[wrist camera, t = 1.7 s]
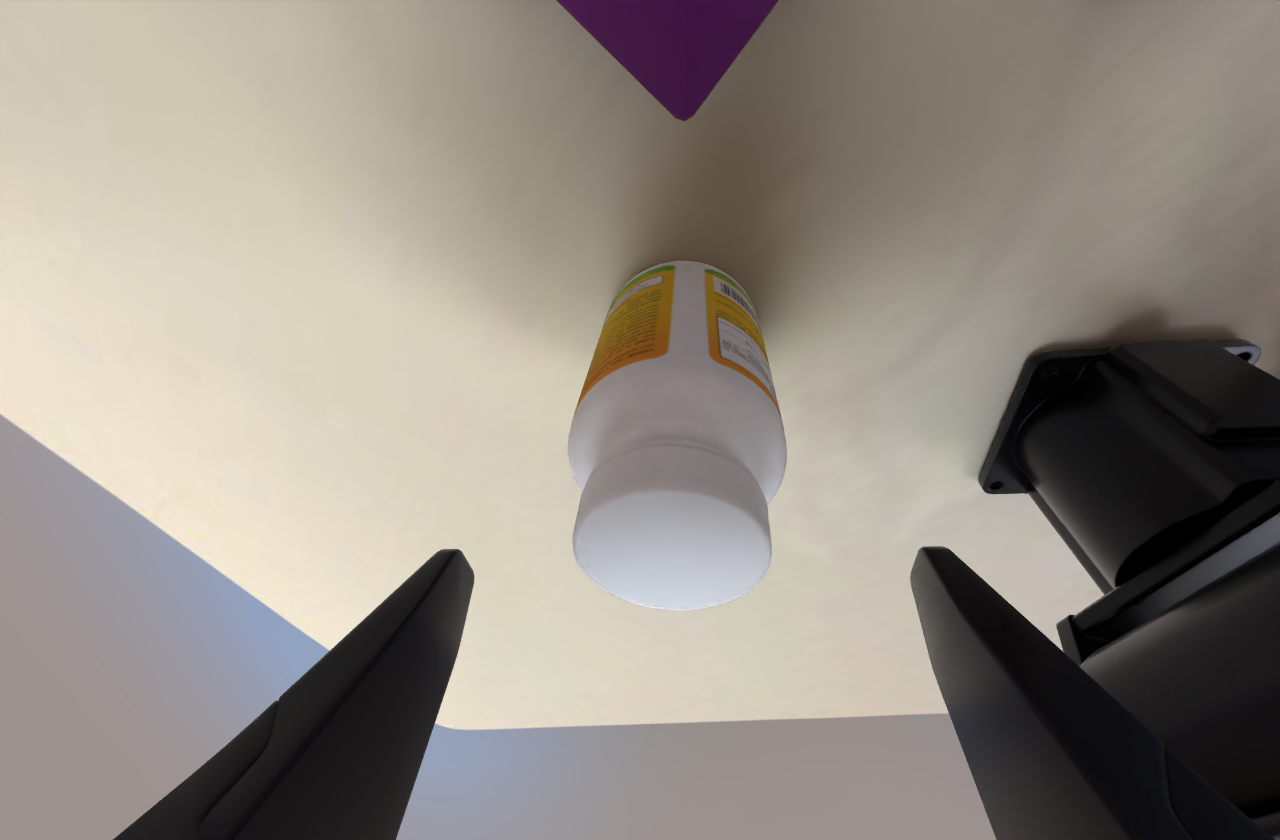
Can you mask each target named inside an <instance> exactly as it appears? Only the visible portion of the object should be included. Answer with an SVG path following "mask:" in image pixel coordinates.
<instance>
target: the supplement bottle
mask: <svg viewBox="0 0 1280 840" xmlns="http://www.w3.org/2000/svg"><path fill="white" fill-rule="evenodd" d="M568 456H569V463H570V467H571V470H572V473H573V476H574V478H575V481H576V483H577V484H578V486H579V488H580V490H581V491H582V495H581V499H580V504H579V509H578V513H577V518H576V523H575V527H574V532H573V550H574V554H575V558H576V560H577V563H578V564H579V566H580V568H581V569H582V571H583V572H584V573H585V574H586V575H587V576H588V577H589V578H590V579H591V580H592V581H593V582H594V583H595V584H596V585H598V586H599V587H600V588H602V589H603V590H605V591H606V592H608V593H610V594H612V595H614V596H617V597H619V598H621V599H623V600H626V601H629V602H631V603H634V604H638V605H642V606H646V607H651V608H657V609H666V610H693V609H702V608H707V607H713V606H716V605H720V604H724V603H726V602H729V601H731V600H734V599H736V598H738V597H740V596H742V595H744V594H745V593H747V592H748V591H750V590H751V589H752V588H754V587H755V586H756V585H757V584H758V583H759V582H760V580H761V579H762V578H763V576H764V575H765V573H766V571H767V570H768V567H769V564H770V560H771V555H772V547H771V536H770V528H769V520H768V507H767V505H768V503H769V502H770V501H771V499H772V498H773V497H774V495H775V494H776V492H777V490H778V488H779V486H780V484H781V482H782V479H783V476H784V472H785V467H786V458H787V449H786V439H785V433H784V427H783V423H782V419H781V414H780V410H779V406H778V402H777V398H776V394H775V389H774V385H773V380H772V376H771V372H770V367H769V363H768V358H767V354H766V350H765V346H764V342H763V337H762V333H761V329H760V325H759V321H758V317H757V314H756V312H755V309H754V306H753V304H752V302H751V300H750V298H749V296H748V295H747V293H746V292H745V290H744V289H743V288H742V287H741V285H740V284H739V283H738V282H737V281H735V280H734V279H733V278H732V277H731V276H729V275H728V274H727V273H725V272H723V271H721V270H720V269H718V268H715V267H713V266H711V265H708V264H704V263H700V262H695V261H672V262H666V263H662V264H658V265H656V266H653V267H650V268H648V269H646V270H644V271H642V272H640V273H639V274H637V275H636V276H634V277H633V278H632V279H630V280H629V281H628V282H627V283H626V284H625V285H624V286H623V287H622V288H621V290H620V291H619V292H618V294H617V295H616V297H615V298H614V300H613V302H612V304H611V306H610V308H609V311H608V314H607V316H606V319H605V322H604V325H603V329H602V332H601V335H600V338H599V341H598V344H597V347H596V350H595V353H594V356H593V359H592V362H591V365H590V368H589V371H588V374H587V377H586V380H585V383H584V386H583V389H582V392H581V395H580V398H579V401H578V404H577V407H576V410H575V413H574V417H573V420H572V425H571V429H570V433H569V440H568Z"/></svg>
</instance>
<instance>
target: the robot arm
mask: <svg viewBox="0 0 1280 840" xmlns="http://www.w3.org/2000/svg"><path fill="white" fill-rule="evenodd" d="M1261 353H1262V352H1261V348H1259V347H1258V346H1256V345H1254V344H1252V343H1250V342H1248V341H1246V340H1241V339H1237V340H1221V341H1210V340H1207V339H1198V340H1183V341H1168V342H1152V343H1137V344H1122V345H1118V346H1115V347H1112V348H1099V349H1083V350H1068V351H1053V352H1044V353H1040V354H1038V355H1036V356H1034V357H1033V358H1031V359H1030V360H1029V361H1028V362H1027V364H1026V365H1025V368H1024V370H1023V373H1022V375H1021V378H1020V380H1019V382H1018V385H1017V387H1016V390H1015V392H1014V395H1013V397H1012V399H1011V402H1010V404H1009V407H1008V409H1007V412H1006V414H1005V416H1004V419H1003V421H1002V424H1001V426H1000V429H999V431H998V433H997V436H996V438H995V441H994V443H993V446H992V448H991V450H990V453H989V455H988V458H987V460H986V463H985V465H984V467H983V470H982V472H981V475H980V477H979V484H980V485H981V487H982V488H983V490H984V491H985V492H986V493H988V494H1015V493H1028V494H1029V495H1030V496H1031V498H1032V499H1033V500H1034V502H1035V503H1036V504H1037V506H1038V507H1039V508H1040V510H1041V511H1042V512H1043V514H1044V515H1045V516H1046V518H1047V519H1048V520H1049V522H1050V523H1051V524H1052V526H1053V527H1054V528H1055V530H1056V531H1057V532H1058V534H1059V535H1060V536H1061V538H1062V539H1063V540H1064V542H1065V543H1066V544H1067V546H1068V547H1069V548H1070V550H1071V551H1072V552H1073V554H1074V555H1075V556H1076V558H1077V559H1078V560H1079V562H1080V563H1081V564H1082V566H1083V567H1084V568H1085V570H1086V571H1087V572H1088V574H1089V575H1090V576H1091V578H1092V579H1093V580H1094V582H1095V583H1096V584H1097V586H1098V587H1099V588H1100V590H1101V591H1102V592H1103V594H1104V595H1105V596H1103V597H1102V598H1100V599H1099V600H1097V601H1096V602H1094V603H1093V604H1091V605H1090V606H1088V607H1087V608H1085V609H1084V610H1082V611H1081V612H1079V613H1078V614H1076V615H1069V616H1067V617H1066V618H1064V619H1063V620H1062V621H1060V622H1059V623H1057V630H1058V633H1059V637H1060V640H1061V644H1062V647H1063V651H1064V652H1063V651H1062V650H1060V649H1059V648H1058V647H1057V646H1056V645H1055V644H1054V643H1053V642H1052V641H1050V640H1049V639H1048V638H1047V637H1046V636H1045V635H1044V634H1043V633H1042V632H1041V631H1039V630H1038V629H1037V628H1036V627H1035V626H1034V625H1033V624H1032V623H1031V622H1029V621H1028V620H1027V619H1026V618H1025V617H1024V616H1023V615H1022V614H1021V613H1019V612H1018V611H1017V610H1016V609H1015V608H1014V607H1013V606H1012V605H1011V604H1009V603H1008V602H1007V601H1006V600H1005V599H1004V598H1003V597H1002V596H1001V595H999V594H998V593H997V592H996V591H995V590H994V589H993V588H992V587H991V586H989V585H988V584H987V583H986V582H985V581H984V580H983V579H982V578H981V577H979V576H978V575H977V574H976V573H975V572H974V571H973V570H972V569H971V568H970V567H968V566H967V565H966V564H965V563H964V562H963V561H962V560H961V559H960V558H958V557H957V556H956V555H955V554H954V553H953V552H952V551H951V550H949V549H948V548H945V547H941V546H932V547H922V548H920V549H919V551H918V553H917V556H916V559H915V562H914V565H913V568H912V571H911V576H910V579H911V586H912V590H913V594H914V598H915V602H916V606H917V610H918V614H919V618H920V622H921V626H922V630H923V634H924V638H925V642H926V646H927V649H928V653H929V657H930V661H931V664H932V668H933V671H934V674H935V677H936V680H937V683H938V685H939V688H940V691H941V693H942V696H943V699H944V701H945V704H946V707H947V709H948V712H949V714H950V717H951V720H952V722H953V725H954V728H955V730H956V733H957V736H958V738H959V741H960V743H961V746H962V749H963V752H964V754H965V757H966V760H967V762H968V765H969V768H970V770H971V773H972V776H973V778H974V781H975V784H976V786H977V789H978V791H979V794H980V797H981V800H982V802H983V805H984V808H985V810H986V813H987V816H988V818H989V821H990V824H991V826H992V829H993V832H994V834H995V837H996V840H1280V380H1279V379H1277V378H1275V377H1273V376H1272V375H1270V374H1268V373H1266V372H1265V371H1263V370H1261V369H1259V368H1257V367H1256V366H1254V364H1255V363H1256V362H1257V360H1258V359H1259V357H1260V355H1261ZM1046 365H1049V366H1048V367H1047V368H1046V369H1044V370H1041V369H1042V368H1043V367H1045V366H1046ZM1040 370H1041V371H1040ZM473 585H474V573H473V570H472V568H471V567H470V565H469V563H468V561H467V560H466V558H465V556H464V554H463V553H462V551H460V550H459V549H443V550H440V551H438V552H437V553H436V554H434V555H433V556H432V557H431V558H430V559H429V560H428V561H427V562H426V563H425V564H424V565H422V566H421V567H420V568H419V569H418V570H417V571H416V572H415V573H414V574H413V575H412V576H411V577H409V578H408V579H407V580H406V581H405V582H404V583H403V584H402V585H401V586H400V587H399V588H398V589H396V590H395V591H394V592H393V593H392V594H391V595H390V596H389V597H388V598H387V599H386V600H385V601H383V602H382V603H381V604H380V605H379V606H378V607H377V608H376V609H375V610H374V611H373V612H372V613H370V614H369V615H368V616H367V617H366V618H365V619H364V620H363V621H362V622H361V623H360V624H358V625H357V626H356V627H355V628H354V629H353V630H352V631H351V632H350V633H349V634H348V635H347V636H345V637H344V638H343V639H342V640H341V641H340V642H339V643H338V644H337V645H336V646H335V647H334V648H332V649H331V650H330V651H329V652H328V653H327V654H326V655H325V656H324V657H323V658H322V659H321V660H319V661H318V662H317V663H316V664H315V665H314V666H313V667H312V668H311V669H310V670H309V671H308V672H307V673H305V674H304V675H303V676H302V677H301V678H300V679H299V680H298V681H297V682H296V683H295V684H294V685H292V686H291V687H290V688H289V689H288V690H287V691H286V692H285V693H284V694H283V695H282V696H281V697H280V698H279V701H275V702H274V703H273V704H272V705H270V706H269V707H268V708H267V709H266V710H265V711H264V712H263V713H262V714H261V715H260V716H259V717H257V719H255V720H254V721H253V722H252V723H251V724H250V725H249V726H248V727H246V728H245V729H244V730H243V731H242V732H241V733H240V734H239V735H237V736H236V737H235V738H234V739H233V740H232V741H231V742H230V743H228V744H227V745H226V746H225V747H224V748H223V749H222V750H220V751H219V752H218V753H217V754H216V755H215V756H213V757H212V758H211V759H210V760H209V761H207V762H206V763H205V764H204V765H203V766H201V767H200V768H199V769H198V770H197V771H196V772H194V773H193V774H192V775H191V776H190V777H188V778H187V779H186V780H185V781H184V782H182V783H181V784H180V785H179V786H177V788H175V789H174V790H173V791H171V792H170V793H169V794H168V795H167V796H166V797H164V798H163V799H162V800H160V801H159V802H158V803H157V804H156V805H154V806H153V807H152V808H151V809H150V810H148V811H147V812H146V813H145V814H143V815H142V816H141V817H140V818H139V819H137V820H136V821H135V822H134V823H133V824H131V825H130V826H129V827H128V828H127V829H125V830H124V831H123V832H122V833H120V834H119V835H118V836H117V837H116V838H115V839H113V840H396V837H397V834H398V831H399V828H400V825H401V822H402V820H403V816H404V814H405V811H406V807H407V805H408V802H409V798H410V795H411V792H412V790H413V787H414V783H415V781H416V778H417V775H418V772H419V768H420V766H421V763H422V760H423V757H424V753H425V751H426V747H427V745H428V741H429V738H430V736H431V733H432V730H433V727H434V724H435V721H436V718H437V715H438V712H439V709H440V706H441V703H442V700H443V697H444V694H445V691H446V688H447V685H448V682H449V679H450V676H451V673H452V670H453V667H454V664H455V660H456V657H457V654H458V650H459V646H460V642H461V638H462V634H463V629H464V625H465V620H466V616H467V611H468V607H469V603H470V598H471V594H472V589H473Z"/></svg>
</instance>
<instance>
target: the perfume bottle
mask: <svg viewBox="0 0 1280 840" xmlns="http://www.w3.org/2000/svg"><path fill="white" fill-rule="evenodd" d="M557 1H558V2H559V3H560V4H561V5H562V6H563V7H564V8H565V9H566V10H567V11H568V12H569V13H570V14H571V15H572V16H573V17H574V18H575V19H576V20H577V21H578V22H579V23H580V24H581V25H582V26H583V27H584V28H585V29H586V30H587V31H588V32H589V33H590V34H591V35H592V36H593V37H594V38H595V39H596V40H597V41H598V42H599V43H600V44H601V45H602V46H603V47H604V48H605V49H606V50H607V51H608V52H609V53H610V54H611V55H612V56H613V57H614V58H615V59H616V60H617V61H618V62H619V63H620V64H621V65H622V66H623V67H624V68H625V69H626V70H627V71H628V72H630V73H631V74H632V75H633V76H634V77H635V78H636V79H637V80H638V81H639V82H640V83H641V84H642V85H643V86H644V87H645V88H646V89H647V90H648V91H649V92H650V93H651V94H652V95H653V96H654V97H655V98H656V99H657V100H658V101H659V102H660V103H661V104H662V105H663V106H664V107H665V108H666V109H667V110H668V111H669V112H670V113H671V114H672V115H673V116H674V117H675V118H677V119H680V120H683V121H686V120H687V119H689V118H690V117H692V116H693V115H694V114H695V113H696V111H697V110H698V109H699V107H700V106H701V105H702V103H703V102H704V100H705V99H706V98H707V96H708V95H709V94H710V92H711V91H712V90H713V88H714V87H715V86H716V84H717V83H718V82H719V80H720V79H721V78H722V76H723V75H724V73H725V72H726V71H727V69H728V68H729V67H730V65H731V64H732V63H733V61H734V60H735V59H736V57H737V56H738V55H739V53H740V52H741V50H742V49H743V48H744V46H745V45H746V44H747V42H748V41H749V40H750V38H751V37H752V36H753V34H754V33H755V32H756V30H757V29H758V28H759V26H760V25H761V23H762V22H763V21H764V19H765V18H766V17H767V15H768V14H769V13H770V11H771V10H772V9H773V7H774V6H775V5H776V3H777V2H778V0H557Z"/></svg>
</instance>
